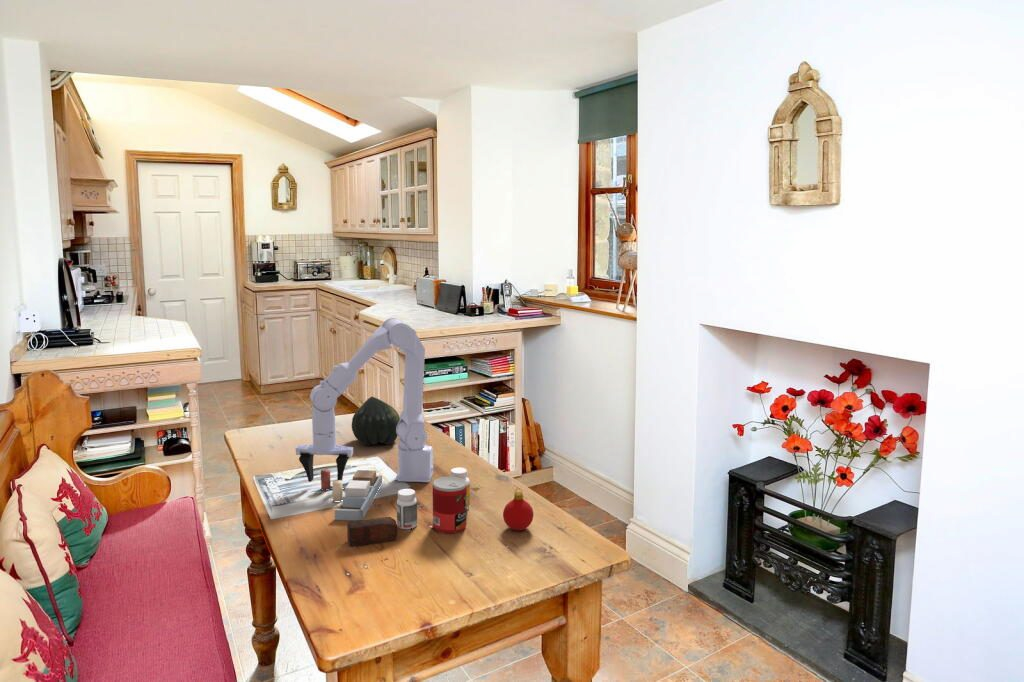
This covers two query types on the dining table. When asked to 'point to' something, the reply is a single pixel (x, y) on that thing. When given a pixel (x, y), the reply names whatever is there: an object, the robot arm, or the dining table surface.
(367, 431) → the squash
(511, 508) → the christmas ornament
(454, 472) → the supplement bottle
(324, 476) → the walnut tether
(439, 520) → the canned food
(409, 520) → the pill bottle
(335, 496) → the white block with peg
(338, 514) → the lane rack
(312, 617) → the dining table surface
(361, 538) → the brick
